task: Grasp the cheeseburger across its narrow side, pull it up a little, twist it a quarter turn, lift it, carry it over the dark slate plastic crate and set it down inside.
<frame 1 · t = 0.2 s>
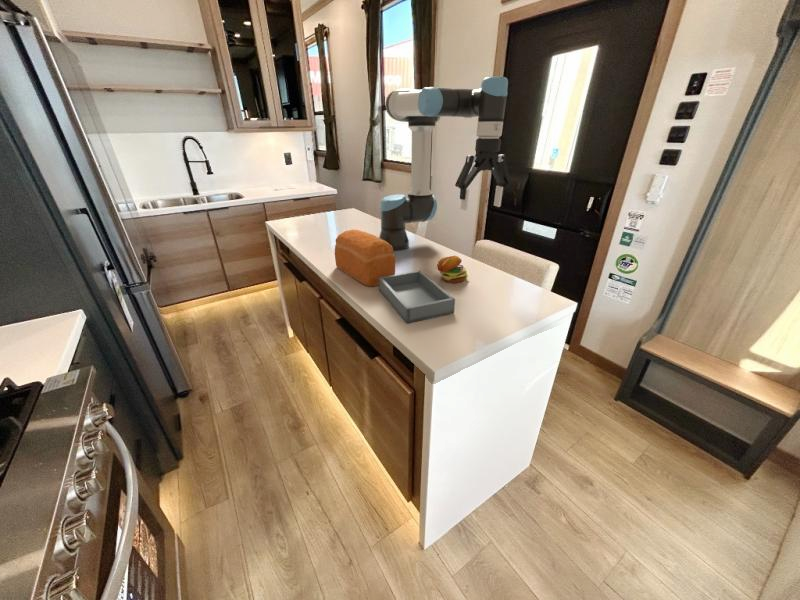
hand: (480, 207, 109), 27 cm above the countertop, fingers open, 13 cm apart
bread: (364, 273, 127), on the countertop
cheeseburger: (451, 279, 122), on the countertop
crate: (414, 301, 106), on the countertop
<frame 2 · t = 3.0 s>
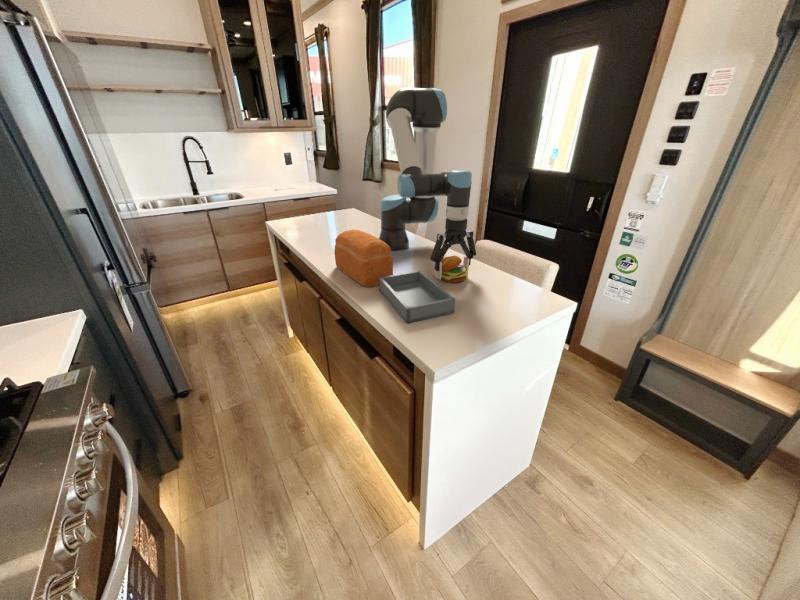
hand: (452, 275, 122), 1 cm above the countertop, fingers closed on cheeseburger, 11 cm apart
cheeseburger: (451, 279, 122), on the countertop, touching gripper
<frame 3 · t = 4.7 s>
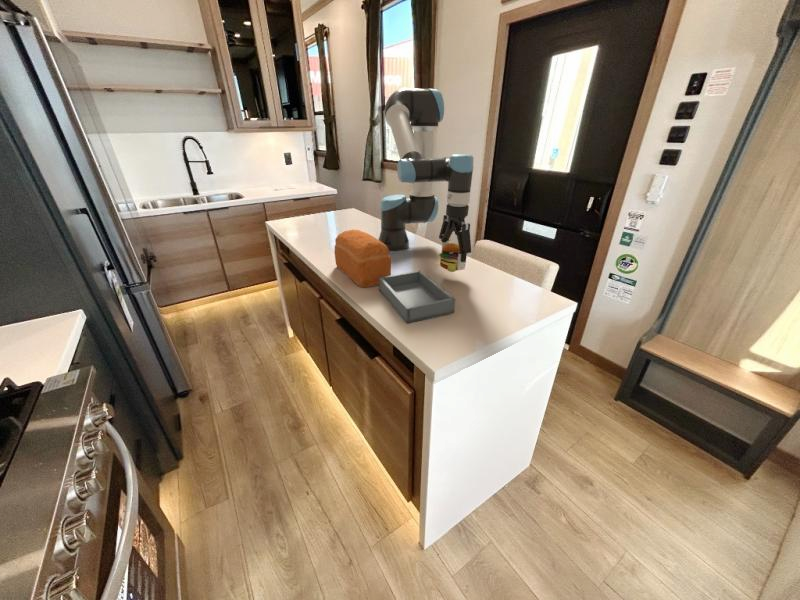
hand: (452, 263, 120), 6 cm above the countertop, fingers closed on cheeseburger, 11 cm apart
cheeseburger: (451, 266, 120), point 4 cm above the countertop, touching gripper
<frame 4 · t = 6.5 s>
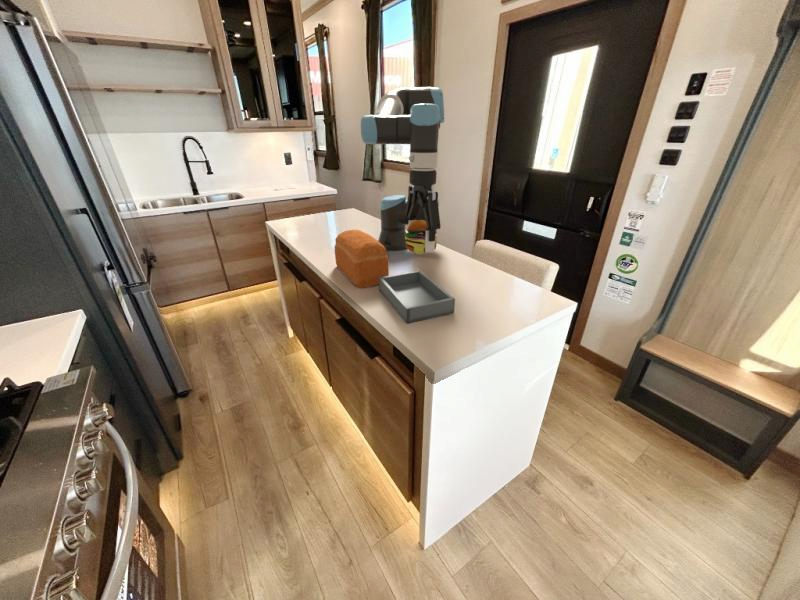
hand: (420, 245, 99), 19 cm above the countertop, fingers closed on cheeseburger, 11 cm apart
cheeseburger: (420, 249, 99), point 17 cm above the countertop, touching gripper
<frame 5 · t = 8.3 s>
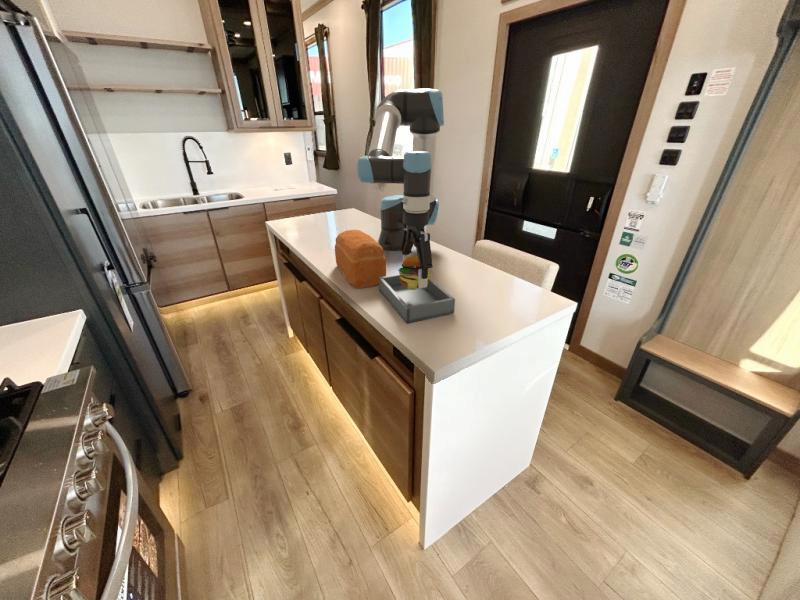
hand: (414, 280, 102), 8 cm above the countertop, fingers closed on cheeseburger, 11 cm apart
cheeseburger: (414, 283, 103), point 6 cm above the countertop, touching gripper
when the fingers open (4 cm above the countertop, at t = 9.9 s): cheeseburger drops 2 cm, resting on crate.
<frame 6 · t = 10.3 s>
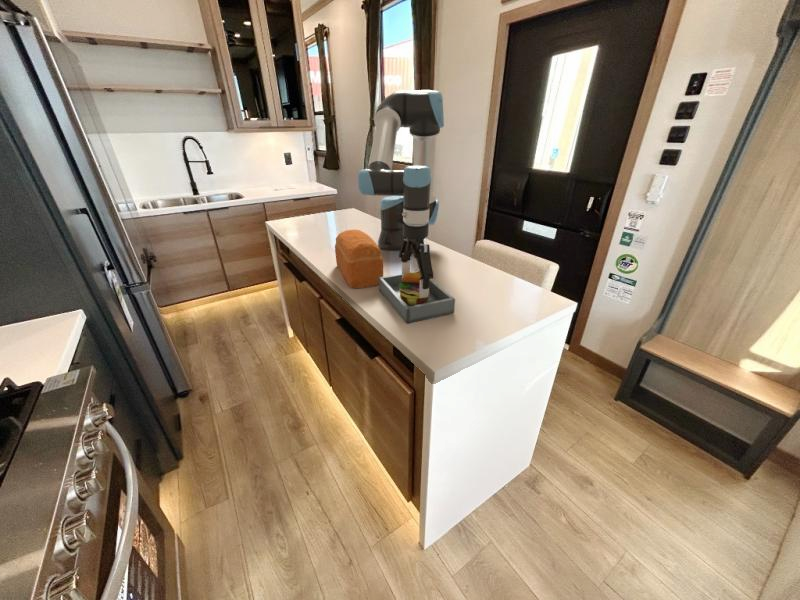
hand: (414, 288, 104), 5 cm above the countertop, fingers open, 13 cm apart
cheeseburger: (413, 298, 106), point 1 cm above the countertop, touching crate
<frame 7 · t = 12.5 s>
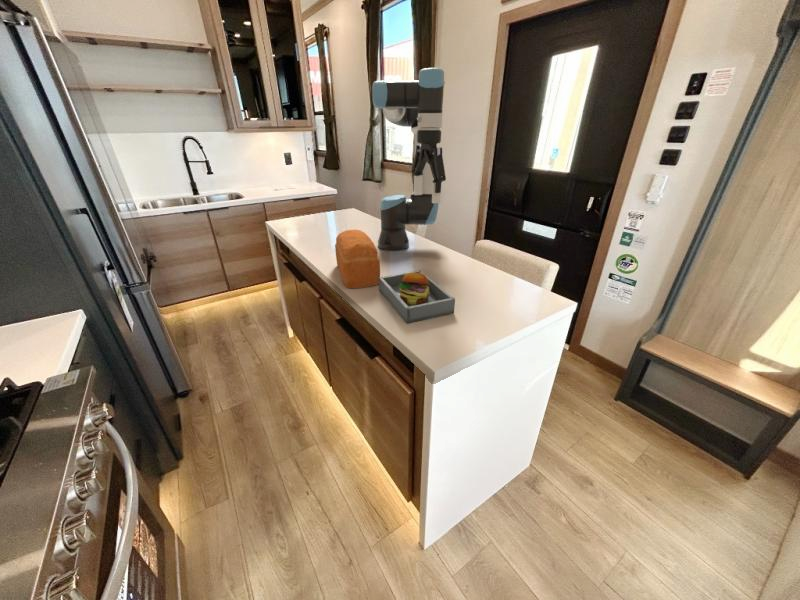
hand: (426, 198, 111), 29 cm above the countertop, fingers open, 13 cm apart
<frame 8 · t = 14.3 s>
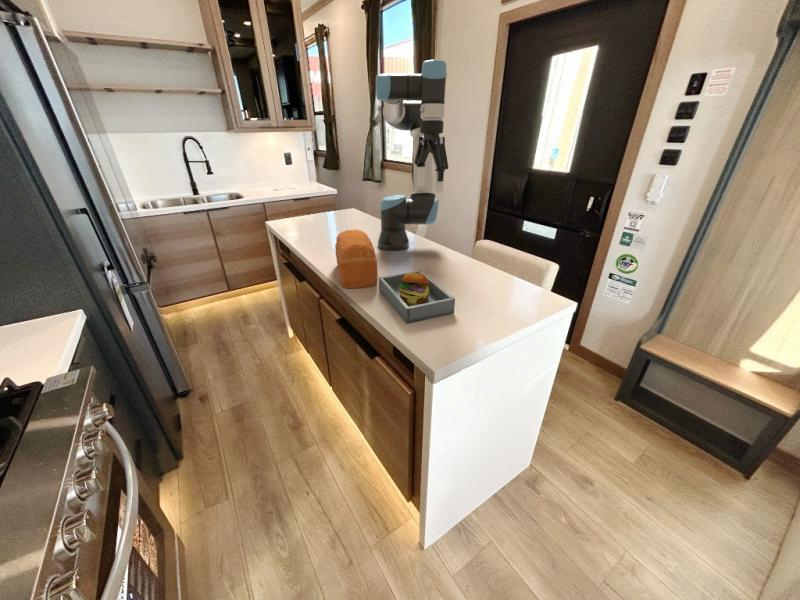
hand: (429, 188, 113), 32 cm above the countertop, fingers open, 13 cm apart
at the end: cheeseburger inside the target area on the crate (0.1 cm from its centre), point 0.8 cm above the crate's base; the gripper is holding nothing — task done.
